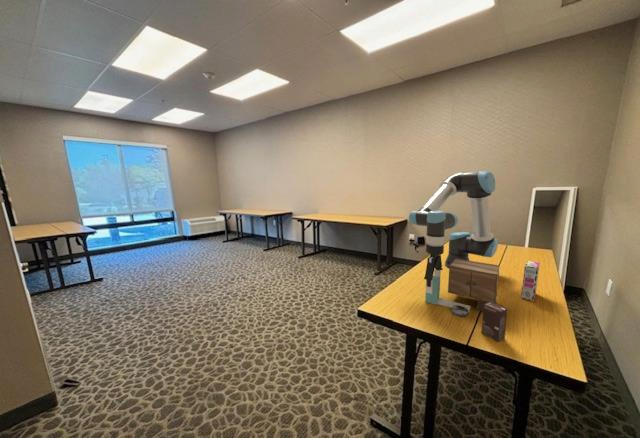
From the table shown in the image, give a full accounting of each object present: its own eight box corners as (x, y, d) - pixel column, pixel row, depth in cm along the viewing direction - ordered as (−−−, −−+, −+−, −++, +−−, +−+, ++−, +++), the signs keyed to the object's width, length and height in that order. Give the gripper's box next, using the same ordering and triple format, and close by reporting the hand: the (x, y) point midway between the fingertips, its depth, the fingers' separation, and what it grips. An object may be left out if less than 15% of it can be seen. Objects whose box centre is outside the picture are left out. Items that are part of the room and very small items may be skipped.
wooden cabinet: (453, 292, 126) (455, 258, 123) (496, 302, 114) (499, 265, 112) (446, 303, 114) (448, 266, 111) (493, 316, 103) (497, 275, 100)
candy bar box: (534, 301, 114) (538, 268, 112) (520, 298, 118) (524, 265, 115) (536, 293, 122) (540, 262, 120) (523, 290, 125) (526, 260, 123)
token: (452, 308, 110) (452, 304, 109) (467, 312, 106) (468, 307, 106) (451, 315, 105) (451, 310, 104) (467, 318, 101) (467, 314, 101)
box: (480, 333, 91) (483, 303, 89) (488, 330, 93) (490, 301, 91) (497, 343, 86) (500, 311, 84) (505, 339, 88) (508, 308, 86)
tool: (428, 297, 120) (429, 274, 118) (470, 308, 109) (472, 283, 107) (425, 301, 116) (426, 277, 114) (468, 313, 105) (470, 287, 103)
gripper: (433, 237, 124) (432, 277, 128) (417, 249, 105) (416, 295, 109) (449, 239, 120) (447, 280, 123) (436, 252, 101) (434, 300, 104)
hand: (433, 287), depth 116 cm, fingers open, 13 cm apart
